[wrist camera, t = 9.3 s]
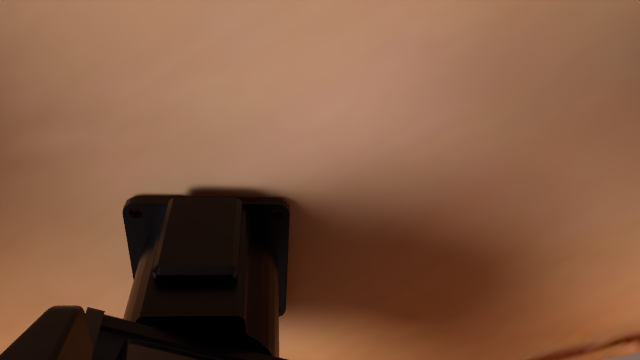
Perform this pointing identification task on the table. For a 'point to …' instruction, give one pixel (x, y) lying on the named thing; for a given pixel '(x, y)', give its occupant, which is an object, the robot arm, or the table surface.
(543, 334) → the table surface
